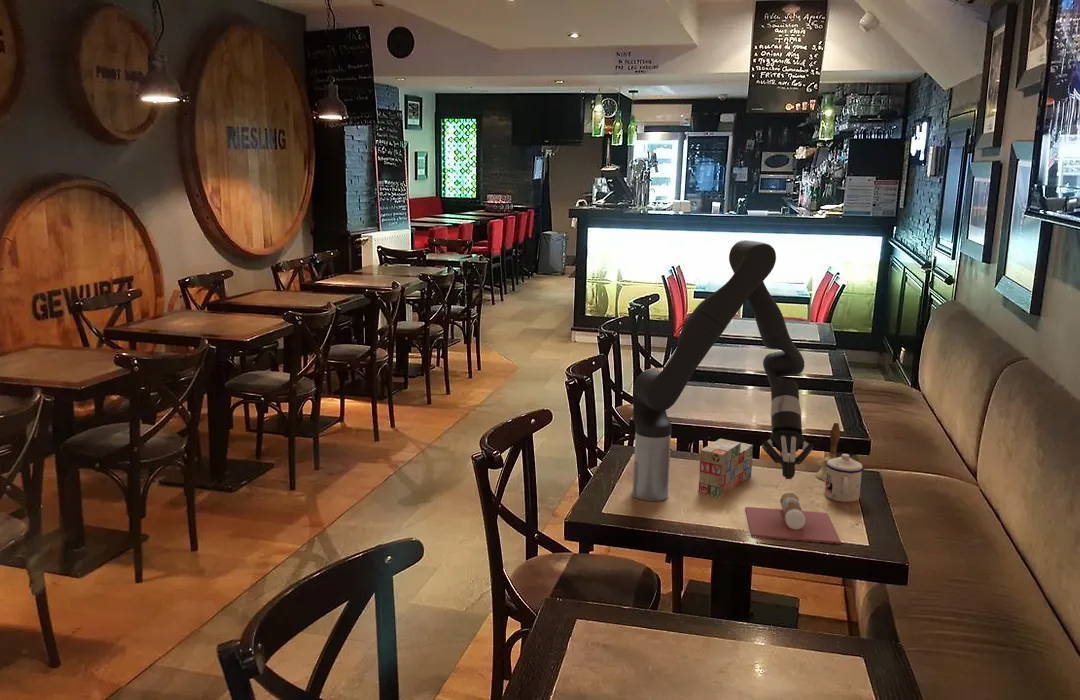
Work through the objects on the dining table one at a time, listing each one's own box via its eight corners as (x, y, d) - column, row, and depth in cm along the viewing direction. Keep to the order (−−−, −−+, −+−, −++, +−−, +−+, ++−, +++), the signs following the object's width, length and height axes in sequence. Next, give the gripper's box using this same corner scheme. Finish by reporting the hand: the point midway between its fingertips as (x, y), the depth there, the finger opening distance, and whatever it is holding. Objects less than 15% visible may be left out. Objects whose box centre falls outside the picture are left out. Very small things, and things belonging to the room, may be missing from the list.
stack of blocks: (730, 471, 232) (733, 430, 229) (751, 476, 228) (754, 434, 226) (697, 492, 215) (700, 448, 213) (719, 498, 211) (722, 453, 209)
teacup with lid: (822, 488, 219) (826, 447, 217) (858, 492, 217) (862, 451, 214) (825, 504, 208) (829, 461, 206) (862, 509, 205) (867, 465, 203)
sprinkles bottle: (801, 497, 202) (809, 517, 189) (793, 512, 203) (800, 533, 190) (784, 489, 203) (791, 508, 190) (776, 504, 204) (782, 524, 191)
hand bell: (820, 470, 234) (825, 417, 230) (849, 476, 229) (855, 422, 226) (811, 478, 227) (816, 424, 224) (841, 485, 222) (846, 429, 219)
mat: (751, 536, 188) (751, 534, 188) (745, 508, 204) (745, 506, 204) (840, 544, 185) (840, 541, 185) (827, 515, 201) (827, 512, 201)
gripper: (761, 408, 207) (763, 469, 198) (815, 411, 205) (819, 473, 196) (758, 422, 213) (759, 482, 204) (809, 425, 211) (813, 486, 202)
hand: (789, 477), depth 200 cm, fingers closed
